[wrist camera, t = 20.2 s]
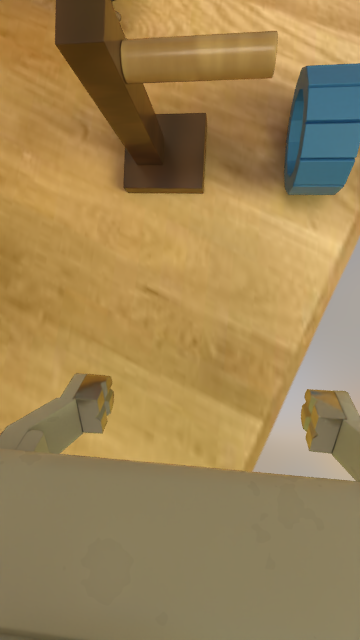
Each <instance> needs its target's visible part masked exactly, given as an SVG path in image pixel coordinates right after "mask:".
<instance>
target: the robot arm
mask: <svg viewBox="0 0 360 640" xmlns="http://www.w3.org/2000/svg"><path fill="white" fill-rule="evenodd" d="M111 385H112V379H111V377H110V376H105V375H94V374H81V373H76V374H75V375H74V376H73V378H72V379H71V381H70V382H69V384H68V386H67V387H66V389H65V390H64V392H63V394H62V395H61V397H60V398H55V399H54V400H52V401H50V402H49V403H47V404H45V405H43V406H42V407H40V408H38V409H36V410H35V411H33V412H31V413H30V414H28V415H26V416H24V417H23V418H21V419H19V420H17V421H16V422H14V423H12V424H11V425H9V426H7V427H6V428H5V430H4V431H3V432H2V434H1V435H0V640H360V416H359V414H358V412H357V410H356V408H355V406H354V404H353V402H352V400H351V398H350V396H349V394H348V392H346V391H326V390H309V389H307V391H306V393H305V400H306V403H305V404H303V406H302V410H301V421H302V426H303V429H304V430H305V431H306V432H307V434H306V441H307V444H308V448H309V451H313V452H323V453H331V454H332V455H333V456H334V457H335V459H336V460H337V461H338V462H339V463H340V464H341V465H342V466H343V467H344V468H345V469H346V470H347V472H348V473H349V474H350V475H351V476H352V477H353V478H354V479H355V480H356V481H347V480H337V479H326V478H314V477H303V476H292V475H282V474H271V473H260V472H250V471H239V470H228V469H217V468H206V467H195V466H185V465H174V464H163V463H152V462H141V461H130V460H119V459H108V458H97V457H87V456H76V455H65V454H60V453H61V452H62V451H63V450H64V449H65V448H67V447H68V446H69V445H70V444H71V443H72V442H74V441H75V440H76V439H77V438H78V437H79V436H80V435H82V434H83V432H85V433H103V431H104V429H105V426H106V424H107V416H108V415H109V414H110V413H111V411H112V408H113V403H114V392H113V391H112V390H111Z"/></svg>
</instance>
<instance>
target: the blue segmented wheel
mask: <svg viewBox="0 0 360 640" xmlns="http://www.w3.org/2000/svg"><path fill="white" fill-rule="evenodd" d="M286 143H287V145H286V151H285V166H284V168H285V170H284V178H285V190H286V192H287V194H288V195H335V194H336V193H337V192H338V191H339V190H340V189H342V188H343V187H344V184H345V183H346V181H347V178H348V176H349V174H350V172H351V169H352V167H353V165H354V162H355V158H356V157H357V153H358V149H359V144H360V64H337V65H315V66H306V67H303V68H302V70H301V72H300V75H299V78H298V81H297V84H296V89H295V92H294V97H293V102H292V107H291V112H290V118H289V125H288V133H287V140H286Z"/></svg>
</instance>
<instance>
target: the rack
mask: <svg viewBox="0 0 360 640" xmlns="http://www.w3.org/2000/svg"><path fill="white" fill-rule="evenodd" d="M277 41H278V33H277V31H265V32H248V33H230V34H212V35H195V36H177V37H159V38H142V39H126V38H125V36H124V33H123V31H122V28H121V26H120V23H119V21H118V18H117V15H116V13H115V10H114V8H113V5H112V3H111V0H56V25H55V44H56V46H57V48H58V49H59V50H60V52H61V53H62V55H63V56H64V58H65V59H66V61H67V62H68V64H69V65H70V67H71V68H72V70H73V71H74V73H75V74H76V76H77V77H78V78H79V80H80V81H81V83H82V84H83V86H84V87H85V89H86V90H87V92H88V93H89V95H90V96H91V98H92V99H93V101H94V102H95V104H96V105H97V106H98V108H99V109H100V111H101V112H102V114H103V115H104V117H105V118H106V120H107V121H108V123H109V124H110V126H111V127H112V129H113V130H114V132H115V133H116V134H117V136H118V137H119V139H120V140H121V142H122V143H123V145H124V146H125V162H124V189H125V190H126V191H127V192H128V193H203V191H204V172H205V153H206V134H207V116H206V113H186V114H155V113H154V110H153V108H152V105H151V102H150V100H149V97H148V95H147V92H146V90H145V87H144V85H143V83H160V82H186V81H212V80H238V79H265V78H272V77H273V74H274V68H275V61H276V53H277Z"/></svg>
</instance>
